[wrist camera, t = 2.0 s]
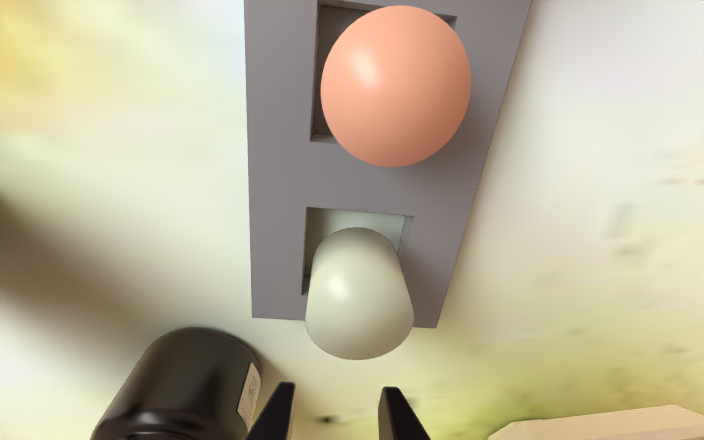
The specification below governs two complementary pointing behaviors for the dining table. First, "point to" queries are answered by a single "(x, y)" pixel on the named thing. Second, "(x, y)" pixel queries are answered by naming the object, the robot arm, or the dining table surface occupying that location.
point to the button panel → (350, 172)
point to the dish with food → (611, 426)
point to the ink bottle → (186, 391)
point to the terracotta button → (396, 86)
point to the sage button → (357, 296)
